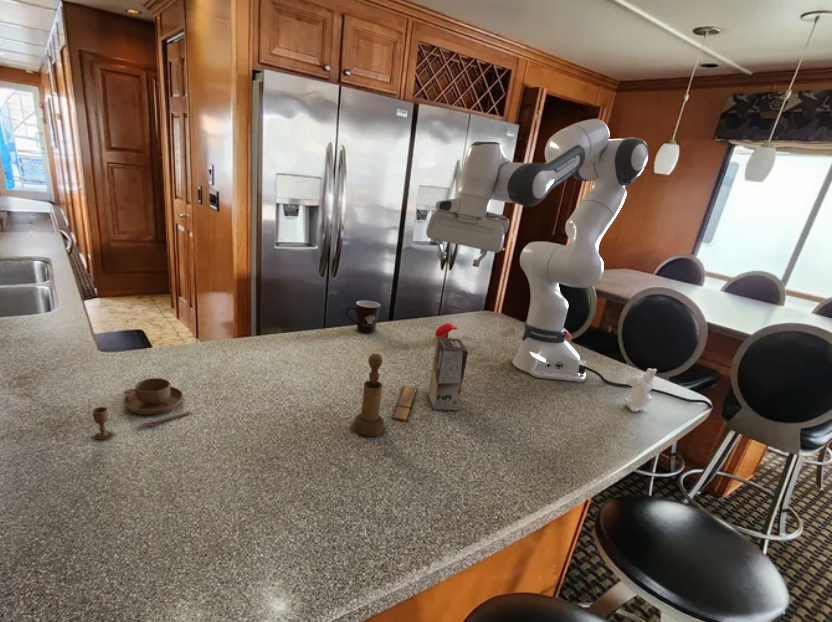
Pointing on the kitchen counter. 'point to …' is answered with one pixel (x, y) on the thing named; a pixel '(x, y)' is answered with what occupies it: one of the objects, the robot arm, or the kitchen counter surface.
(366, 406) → the mortar and pestle
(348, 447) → the kitchen counter surface
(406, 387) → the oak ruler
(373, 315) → the coffee mug
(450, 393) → the coffee box
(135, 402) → the place setting
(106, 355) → the kitchen counter surface
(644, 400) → the white animal figurine
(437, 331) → the cap
